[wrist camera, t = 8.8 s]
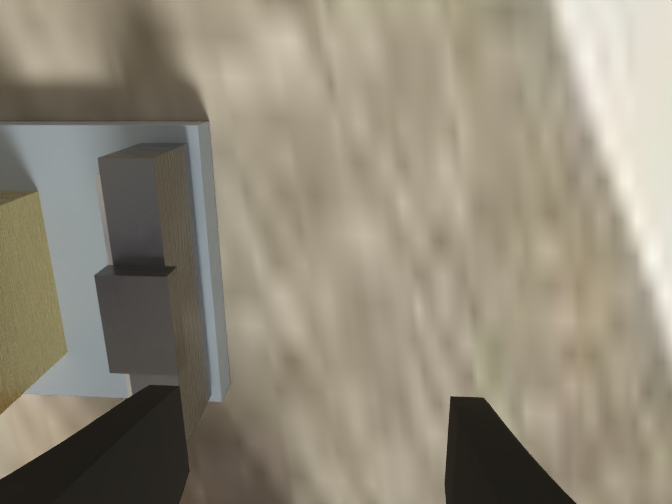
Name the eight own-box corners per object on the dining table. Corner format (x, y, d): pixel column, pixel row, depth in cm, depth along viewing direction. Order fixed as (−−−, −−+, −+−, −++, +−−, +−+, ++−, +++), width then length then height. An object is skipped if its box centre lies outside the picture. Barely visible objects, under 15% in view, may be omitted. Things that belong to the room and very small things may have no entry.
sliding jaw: (163, 392, 20) (118, 459, 17) (131, 142, 17) (70, 163, 14) (221, 395, 20) (188, 463, 17) (199, 143, 17) (153, 163, 14)
